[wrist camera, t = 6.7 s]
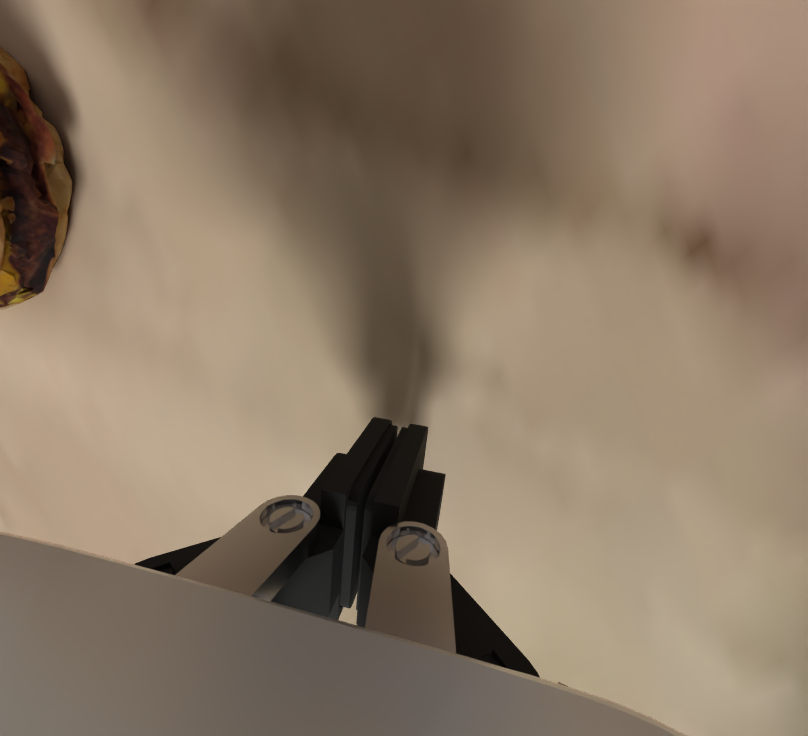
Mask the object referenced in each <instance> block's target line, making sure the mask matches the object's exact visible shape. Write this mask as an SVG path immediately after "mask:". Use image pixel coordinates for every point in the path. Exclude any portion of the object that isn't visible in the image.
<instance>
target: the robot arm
mask: <svg viewBox="0 0 808 736" xmlns="http://www.w3.org/2000/svg"><path fill="white" fill-rule="evenodd" d="M397 430H398V427H397V426H394V425H392V421H391V420H387V419H381V418H376V417H373V418H372V420H371V421H370V423H369V424H368V425H367V427H366V428H365V430H364V431H363V432H362V434H361V435H360V436H359V438H358V439H357V441H356V442H355V443H354V445H353V446H352V448H351V449H350V450H349V452H348V453H347V454H342V453H337V454H336V455H335V456H334V457H333V458H332V460H331V461H330V462H329V464H328V465H327V466H326V467H325V469H324V470H323V471H322V473H321V474H320V475H319V476H318V478H317V479H316V480H315V482H314V483H313V484H312V485H311V487H310V488H309V489H308V491H307V492H306V493H305V494H304V496H303V497H302V496H297V495H286V496H280V497H276V498H273V499H270V500H268V501H266V502H265V503H263V504H261V505H260V506H259V507H257V508H256V509H255V510H254V511H253V512H251V513H250V514H249V515H248V516H247V517H245V518H244V519H243V520H242V521H240V522H239V523H238V524H237V525H236V526H234V527H233V528H232V529H231V530H229V531H228V532H227V533H226V534H225V535H223V536H222V537H220V538H216V539H213V540H209V541H206V542H202V543H199V544H196V545H192V546H189V547H185V548H182V549H179V550H175V551H172V552H168V553H165V554H162V555H158V556H155V557H151V558H148V559H146V560H143V561H141V562H138V563H136V564H130V563H126V562H123V561H119V560H115V559H111V558H108V557H104V556H100V555H96V554H93V553H89V552H85V551H81V550H77V549H74V548H70V547H66V546H62V545H58V544H54V543H49V542H45V541H40V540H36V539H31V538H27V537H22V536H18V535H14V534H9V533H4V532H0V736H686V735H684V734H682V733H680V732H678V731H676V730H674V729H673V728H671V727H669V726H667V725H665V724H663V723H661V722H659V721H657V720H655V719H653V718H651V717H649V716H646V715H644V714H641V713H639V712H636V711H634V710H631V709H629V708H627V707H624V706H622V705H619V704H617V703H614V702H612V701H610V700H607V699H604V698H601V697H597V696H594V695H591V694H588V693H585V692H582V691H579V690H576V689H573V688H570V687H568V686H566V685H564V684H562V683H560V682H558V684H557V683H554V682H551V681H548V680H545V679H542V678H540V677H539V675H538V673H537V671H536V670H535V669H534V667H533V666H532V664H531V663H530V662H529V660H528V659H527V658H526V657H525V656H524V655H523V654H522V653H521V651H520V650H519V649H518V648H517V647H516V646H515V645H514V644H513V643H512V641H511V640H510V639H509V638H508V637H507V636H506V635H505V634H504V633H503V631H502V630H501V629H500V628H499V627H498V626H497V625H496V624H495V623H494V621H493V620H492V619H491V618H490V617H489V616H488V615H487V614H486V613H485V611H484V610H483V609H482V608H481V607H480V606H479V605H478V604H477V603H476V601H475V600H474V599H473V598H472V597H471V596H470V595H469V594H468V593H467V591H466V590H465V589H464V588H463V587H462V586H461V585H460V584H459V583H458V581H457V580H456V579H455V578H454V577H453V576H452V575H451V574H450V568H449V555H448V547H447V544H446V541H445V539H444V538H443V536H442V535H441V534H440V533H439V532H438V531H437V526H438V520H439V514H440V508H441V502H442V495H443V489H444V482H445V474H442V473H437V472H432V471H427V470H423V464H424V457H425V449H426V442H427V434H428V427H426V426H420V425H415V424H410V425H409V427H408V428H405V427H402V428H401V430H400V432H399V434H398V436H397ZM357 591H358V593H357ZM356 594H357V605H356V610H358V612H357V625H358V626H357V625H353V624H350V623H346V622H343V621H339V620H338V619H339V616H340V614H341V612H342V609H343V607H347V608H351V606H352V604H353V602H354V599H355V596H356Z"/></svg>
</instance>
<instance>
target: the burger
mask: <svg viewBox="0 0 808 736" xmlns="http://www.w3.org/2000/svg"><path fill="white" fill-rule="evenodd" d="M29 90H30V87H29V85H28V83H27V76H26V73H25V70H24V69H23V68H22V67H21V66H20V65H19V64H18V63H17V62H16V61H15V60H14V59H13V58H12V57H11V56H10V55H9V54H8V53H7V52H5V51H4V50H3V49H2V48H0V309H6V308H9V307H11V306H14V305H16V304H19V303H22V302H24V301H26V300H28V299H30V298H32V297H34V296H36V295H38V294H39V293H41V292H43V291H44V288H45V286H46V284H47V282H48V279H49V276H50V274H51V271H52V268H53V267H54V266H55V263H56V261H57V258H58V257H59V255H60V252H61V250H62V246H63V244H64V241H65V237H66V230H67V222H68V216H67V209H68V207H69V204H70V199H71V194H72V180H71V177H70V175H69V173H68V171H67V169H66V167H65V165H64V162H63V147H62V143H61V140H60V138H59V135H58V133H57V131H56V129H55V128H54V126H52V125H51V124H50V123H49V122H48V121H46V120H44V119H43V117H42V112H41V111H40V109H39V108H38V107H37V106H36V105H35V104H34V103H33V102H32V101H31V99H30V98H29Z"/></svg>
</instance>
